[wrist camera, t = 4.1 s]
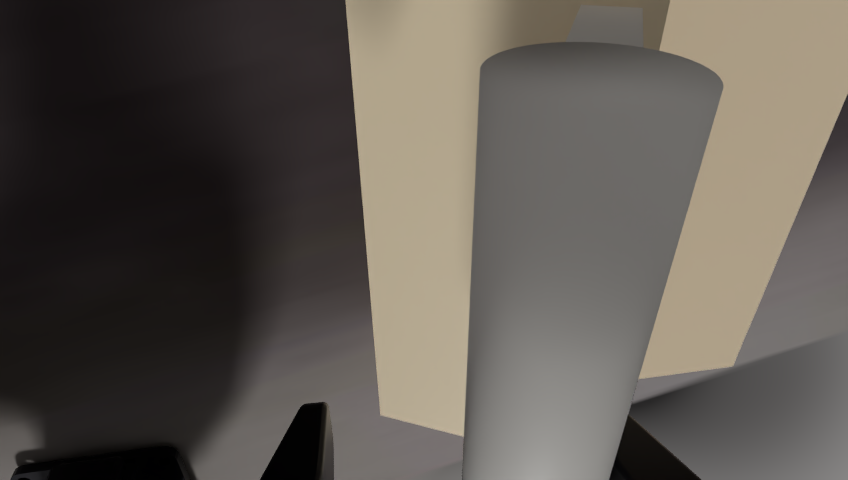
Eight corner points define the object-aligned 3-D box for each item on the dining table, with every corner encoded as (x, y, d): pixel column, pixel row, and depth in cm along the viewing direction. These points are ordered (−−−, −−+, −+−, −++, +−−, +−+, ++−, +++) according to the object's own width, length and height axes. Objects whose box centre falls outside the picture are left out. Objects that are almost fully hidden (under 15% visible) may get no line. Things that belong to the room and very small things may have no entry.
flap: (574, 450, 16) (541, 746, 11) (386, 402, 18) (274, 640, 12) (693, -85, 9) (781, 1, 3) (350, -88, 10) (21, -33, 5)
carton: (661, 282, 23) (733, 369, 19) (372, 315, 22) (385, 417, 18) (775, -118, 15) (937, -112, 11) (337, -109, 14) (346, -100, 10)
